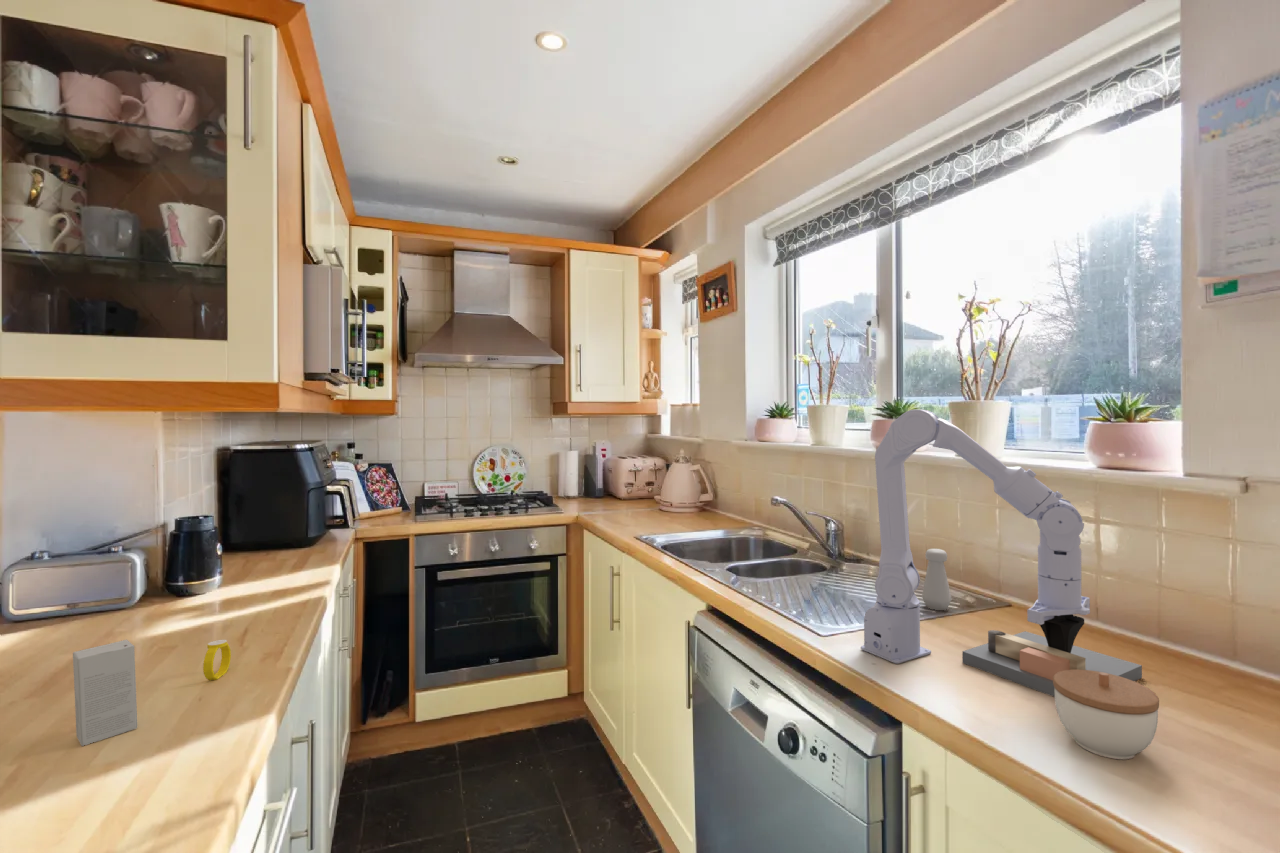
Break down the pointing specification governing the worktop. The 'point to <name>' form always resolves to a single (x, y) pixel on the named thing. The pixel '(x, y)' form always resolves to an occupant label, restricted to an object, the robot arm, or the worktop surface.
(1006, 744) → the worktop surface
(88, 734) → the skincare box
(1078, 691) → the lidded jar
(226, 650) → the watch
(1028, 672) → the stool seat
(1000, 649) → the stool leg
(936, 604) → the salt shaker
